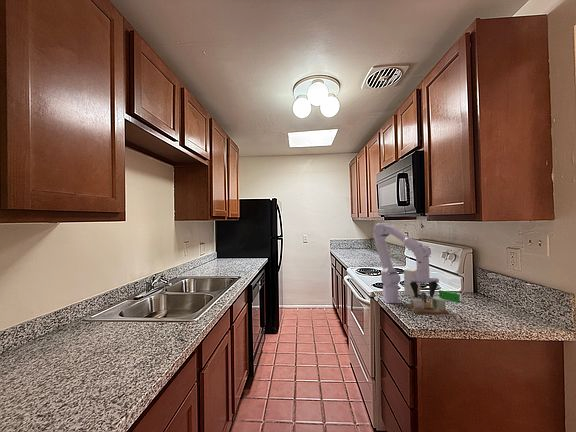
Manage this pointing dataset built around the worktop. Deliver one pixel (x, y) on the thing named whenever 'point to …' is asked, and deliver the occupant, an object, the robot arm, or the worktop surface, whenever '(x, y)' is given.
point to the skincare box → (408, 289)
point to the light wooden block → (426, 303)
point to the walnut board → (428, 310)
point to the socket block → (438, 303)
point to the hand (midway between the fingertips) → (423, 297)
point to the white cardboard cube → (417, 304)
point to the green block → (449, 296)
